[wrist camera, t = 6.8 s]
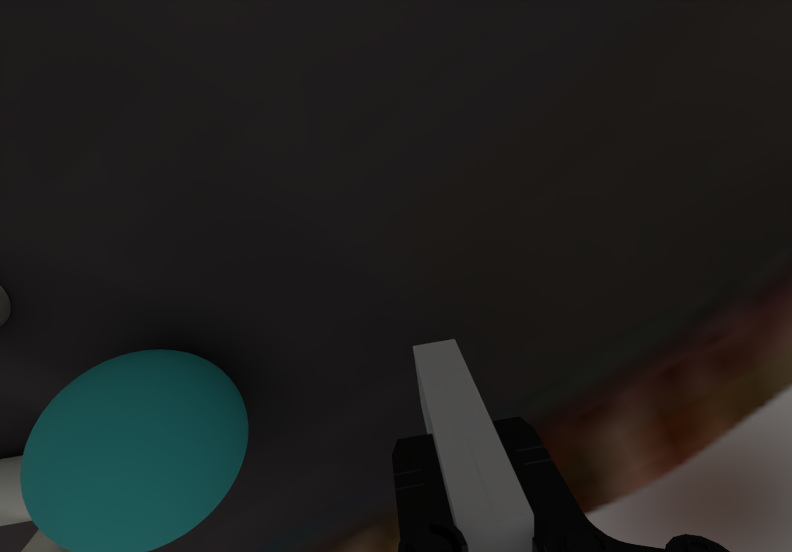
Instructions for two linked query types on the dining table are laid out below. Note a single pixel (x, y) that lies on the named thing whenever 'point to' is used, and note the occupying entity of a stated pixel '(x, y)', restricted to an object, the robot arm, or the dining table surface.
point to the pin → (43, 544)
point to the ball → (134, 452)
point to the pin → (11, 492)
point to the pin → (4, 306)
